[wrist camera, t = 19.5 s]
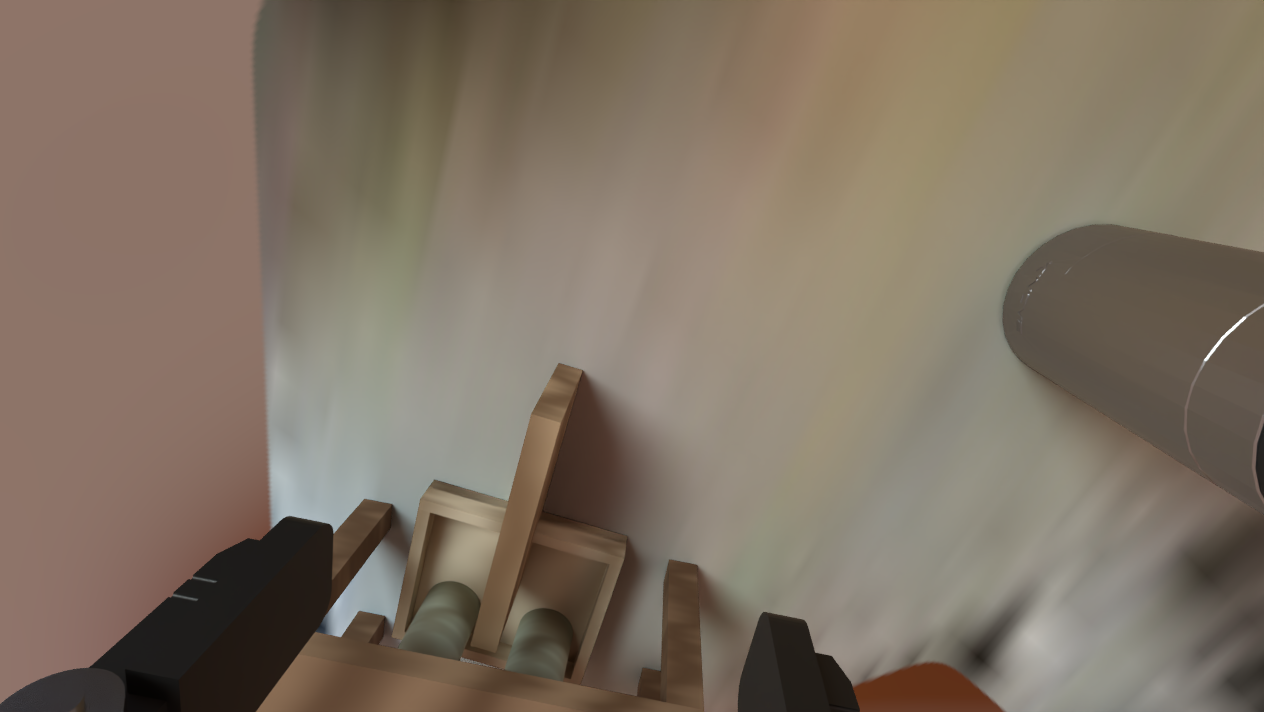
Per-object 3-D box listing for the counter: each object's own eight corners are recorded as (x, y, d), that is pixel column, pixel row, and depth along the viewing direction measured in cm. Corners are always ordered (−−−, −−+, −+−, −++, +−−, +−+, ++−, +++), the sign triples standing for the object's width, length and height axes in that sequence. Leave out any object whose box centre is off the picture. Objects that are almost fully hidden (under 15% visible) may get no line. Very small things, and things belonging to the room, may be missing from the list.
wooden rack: (696, 564, 44) (705, 735, 32) (663, 692, 48) (658, 890, 35) (364, 498, 44) (238, 642, 32) (358, 631, 48) (243, 806, 36)
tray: (675, 398, 40) (674, 456, 33) (583, 663, 48) (565, 760, 40) (465, 334, 40) (415, 379, 32) (405, 612, 47) (354, 701, 40)
